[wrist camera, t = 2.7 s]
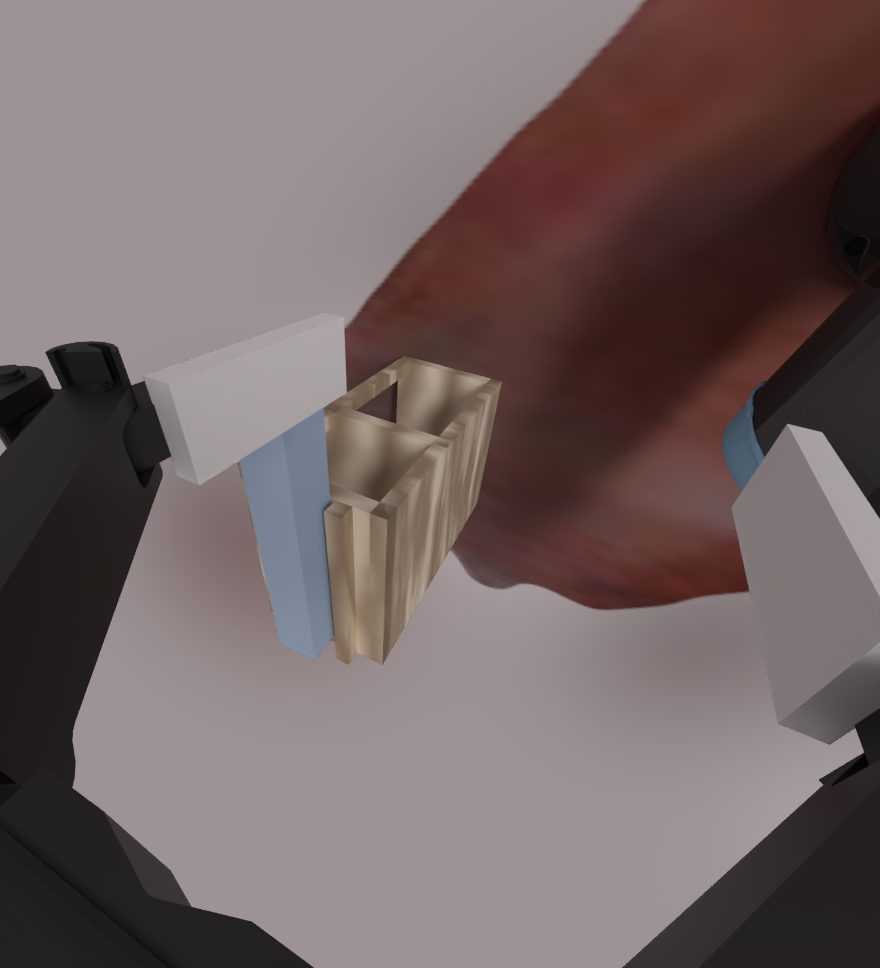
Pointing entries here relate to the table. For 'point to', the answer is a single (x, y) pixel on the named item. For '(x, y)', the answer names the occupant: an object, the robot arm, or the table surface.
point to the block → (294, 531)
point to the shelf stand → (398, 495)
